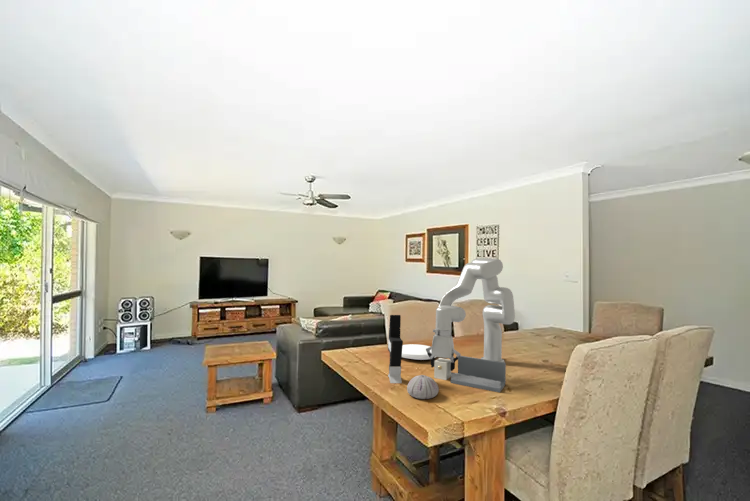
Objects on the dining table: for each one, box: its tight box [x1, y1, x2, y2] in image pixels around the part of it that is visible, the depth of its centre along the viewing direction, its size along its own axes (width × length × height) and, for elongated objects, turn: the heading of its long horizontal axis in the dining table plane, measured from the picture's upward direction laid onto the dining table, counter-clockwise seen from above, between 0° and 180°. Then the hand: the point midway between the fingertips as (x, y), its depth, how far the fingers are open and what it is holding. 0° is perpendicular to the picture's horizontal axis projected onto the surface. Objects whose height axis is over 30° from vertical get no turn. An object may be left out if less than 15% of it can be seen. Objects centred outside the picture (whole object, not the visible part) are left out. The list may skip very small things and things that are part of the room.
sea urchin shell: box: [406, 374, 440, 400], centre depth 153 cm, size 13×14×8 cm
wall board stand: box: [450, 355, 507, 394], centre depth 168 cm, size 12×22×10 cm, turn 59°
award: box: [387, 314, 404, 384], centre depth 173 cm, size 15×5×30 cm, turn 5°
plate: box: [402, 343, 437, 361], centre depth 213 cm, size 28×6×27 cm
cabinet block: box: [433, 357, 452, 381], centre depth 177 cm, size 8×6×8 cm
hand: (442, 368), depth 177 cm, fingers open, 9 cm apart
